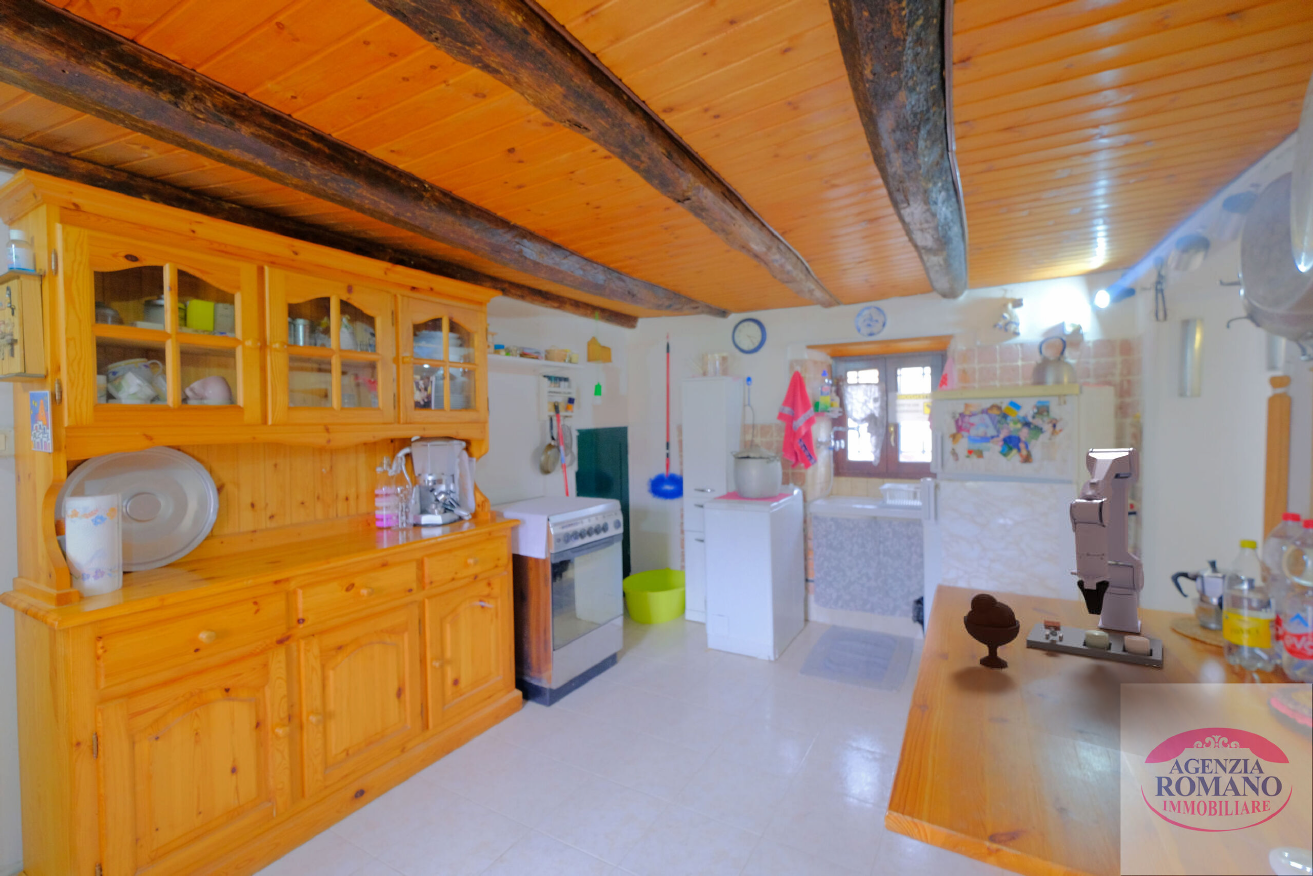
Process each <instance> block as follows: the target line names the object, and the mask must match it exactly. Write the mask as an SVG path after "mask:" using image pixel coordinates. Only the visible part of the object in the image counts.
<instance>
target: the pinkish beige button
mask: <svg viewBox="0 0 1313 876" xmlns="http://www.w3.org/2000/svg"><path fill="white" fill-rule="evenodd" d="M1144 637H1145V636H1140V635H1131V636H1125V637H1124V639H1125V651H1126V653H1133V654H1139V655H1146V656H1151V655H1150V642H1149V639H1147V638H1148V637H1145V638H1144Z"/></svg>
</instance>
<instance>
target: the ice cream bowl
mask: <svg viewBox="0 0 1313 876" xmlns="http://www.w3.org/2000/svg"><path fill="white" fill-rule="evenodd" d="M970 609H971V610H969V611H968V612H967V614H966V615H964V616H963V623H964V628H965V630H966V631H967V634H969V635H970V636H971V638H973V639H975V641H977V642H979V643H980V644H983V645H985V646H986V647H987V649H988V650H987V651H988V655H986V656H984V657H981V658H980V659H979V665H981V664H982V665H981V666H983V665H984V666H983V667H985V666H986V667H985V668H988V667H990V668H989V669H993V668H998V669H997V670H1000V669H999V668H1001V670H1003V669H1002V668H1004V669H1005V668H1009V666H1008V663H1007V660H1005V659H1003V658H1001V657H1000V656H999V655H998V648H999V647H1002V646H1005V645H1008V644H1010V643H1011V642H1012V641H1014V640H1015V639H1016V638H1017V637H1018V636H1019V633H1020V627H1021V625H1020V621H1019V620H1018V619H1016V616H1015V612H1014V611H1013V609H1012V608H1011V607H1010V606H1009V605H1008V604H1006V603H1003V602H1001V601H998V600H997V598H996V597H994V596H993V595H991V594H990V593H989V594H988V593H983V592H982V593H979V594H978V593H977V594H976V595H975V596H974V597H972V599H971V602H970Z"/></svg>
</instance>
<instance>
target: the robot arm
mask: <svg viewBox="0 0 1313 876" xmlns="http://www.w3.org/2000/svg"><path fill="white" fill-rule="evenodd" d="M1085 464H1086V469H1087V471H1088V473H1089V475H1090V479H1088V480H1086V481H1085V482H1084V483H1083V485H1082V487H1081V490H1080V492H1079V495H1078V497H1077V499H1075V501H1071V502H1070V505H1069V518H1070V523H1071V528H1072V529H1071V530H1072V532H1073V533H1074V539H1075V540H1074V541H1075V558H1076V559H1075V560H1076V561H1075V564H1076V569H1075V570H1074V569H1072V570H1070V575H1071V576H1076V577H1078V578H1079V579H1078V580H1077V582H1076V585H1077V587H1078V589H1079V590H1080V592H1081V594H1082V596H1083V598H1084V603H1085V605H1086V609H1087V611H1088V614H1089V615H1097V616H1100V618H1099V623H1098V625H1097V626H1098V628H1100V629H1106V630H1115V631H1120V632H1127V633H1128V632H1129V633H1137V634H1138V633H1139V634H1140V633H1141V627H1142V626H1141V625H1142V621H1141V620H1139V617H1138V615H1139V613H1138V599H1137V597H1138V596H1137V593H1139V592H1141V591H1143V589H1144V585H1145V574H1144V569H1143V562H1142V561H1141V559H1140V558H1139V557H1138V556H1136V555H1134V554H1133V553H1132V552H1130V551H1129V491H1130V487H1131V485H1134V484H1136V483H1138V482H1139V478H1140V455H1139V451H1138V450H1137V449H1136V448H1135V447H1130V448H1090V449H1089V450H1087V452H1086V454H1085ZM1112 562H1114V563H1112ZM1120 563H1121V564H1120ZM1122 563H1123V564H1122Z"/></svg>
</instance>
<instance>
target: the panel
mask: <svg viewBox="0 0 1313 876" xmlns="http://www.w3.org/2000/svg"><path fill="white" fill-rule="evenodd" d="M1087 630H1088V629H1086V628H1078V627H1072V626H1065V625H1061V630H1060V631H1057V634H1058V635H1057V636H1051V634H1050V630H1048V629H1045V627H1044V623H1042V622H1035V624H1034V626H1033V627H1032V629H1031V631H1030V632H1029V634H1028V636H1027V638H1026V639H1025V640H1026V647H1031V646H1032V647H1031V648H1038V649H1045V650H1051V651H1055V652H1063V653H1068V654H1075V655H1081V656H1089V657H1095V658H1100V659H1107V660H1114V661H1118V662H1125V663H1132V664H1137V665H1143V664H1148V665H1147V666H1150V665H1156V666H1162V667H1163V640H1162V639H1159V638H1152V637H1145V636H1143V637H1144V638H1147V639H1149V642H1150V655H1139V654H1133V653H1128V652H1126V651H1125V639H1124V637H1125V636H1132V635H1128V634H1123V633H1115V632H1108V631H1104V632H1105V633H1107V634H1108V638H1109V648H1108V649H1100V648H1093V647H1088V646H1086V641H1085V631H1087ZM1151 655H1152V656H1151ZM1156 666H1155V667H1156Z"/></svg>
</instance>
